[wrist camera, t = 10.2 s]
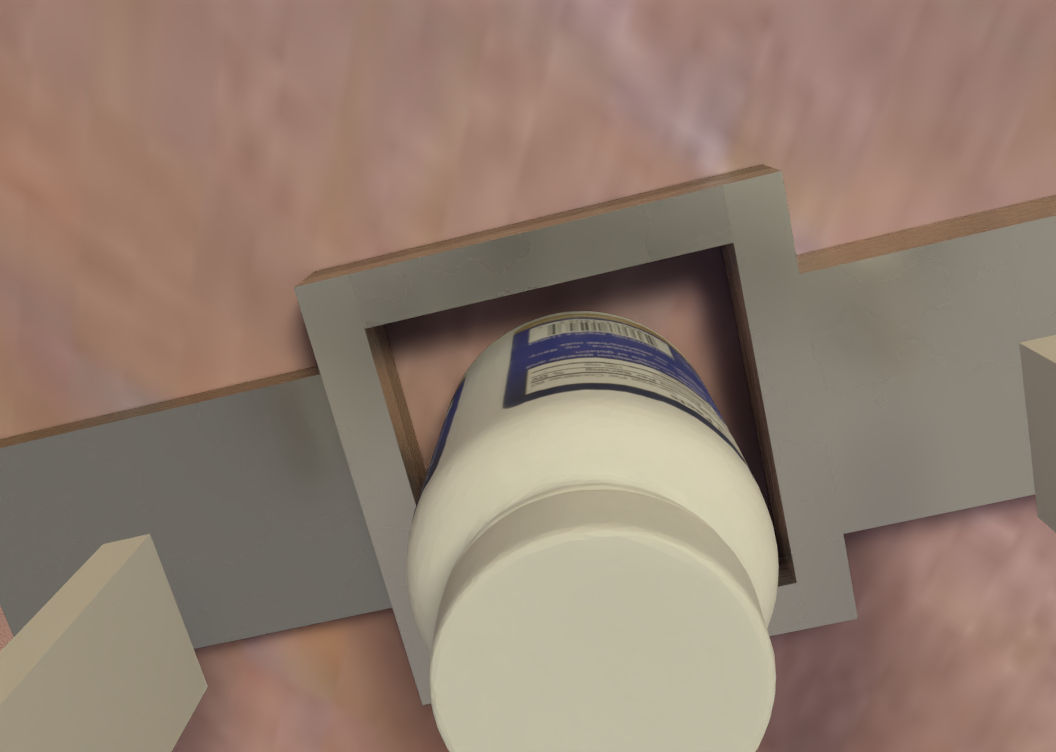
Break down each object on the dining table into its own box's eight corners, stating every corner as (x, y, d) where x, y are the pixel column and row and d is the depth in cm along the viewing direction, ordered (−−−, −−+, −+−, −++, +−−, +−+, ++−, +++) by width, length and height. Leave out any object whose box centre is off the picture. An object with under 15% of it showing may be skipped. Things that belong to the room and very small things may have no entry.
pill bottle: (581, 604, 21) (595, 959, 12) (394, 437, 20) (270, 694, 11) (771, 432, 20) (933, 692, 11) (582, 247, 19) (600, 375, 10)
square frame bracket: (81, 731, 22) (45, 780, 20) (-72, 364, 20) (-125, 386, 18) (1236, 497, 20) (1294, 532, 18) (1212, 56, 18) (1276, 53, 16)
